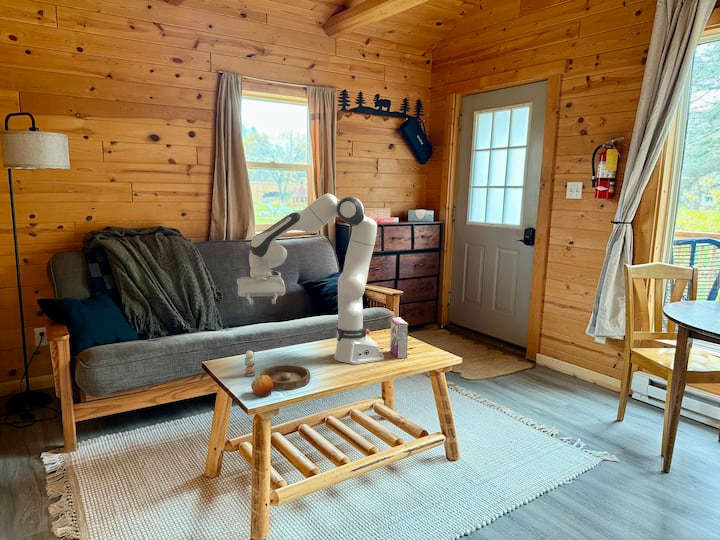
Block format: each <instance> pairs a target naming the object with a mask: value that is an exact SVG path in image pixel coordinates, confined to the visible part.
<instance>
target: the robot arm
mask: <svg viewBox="0 0 720 540" xmlns="http://www.w3.org/2000/svg"><path fill="white" fill-rule="evenodd" d="M365 212H366V211H365V206H364V204H363V202H362V201H361V200H360V199H359V198H357V197H353V196H347V197H344V198H342V199H339V198H337V197H336V196H335V195H334V194H332V193H325V194H322V195H321V196H319V197H318V198H317V199H315V200H314V201H313V202H311V203H310V204H309V205H308V206H307V207H305V208H304V209H301V210H300V211H297V212H291V213H290V214H287V215H286V216H285V217H283V218H281V219H280V220H279V221H277V222H275V223H274V224H273V225H271V226H270V227H268V228H266V229H265V230H264V231H262V232H260V233H257V234H255V236H253V237H252V239H251V241H250V245H249V246H250V247H249V249H250V250H249V253H248V255H249V256H248V257H249V259H248V261H249V266H250V270H249V276H240V277H238V278H237V279H236V284H237V295H238V296H239V297H246V299H247V300H248V302H249V305H254V298H252V297H273V298H271V304H272V305H276V303H277V301H276V300H277V299H278V297H282V296H284V295H285V294H286V285H285V282H284V279H283V278H282V273H281V272H280V271H276V270H274V269H275V268H277V267H280V266H282V265H283V264H284V263H285V262H286V261H287V258H288V250H287V248H285V247H284V246H283V245H282V244H280V243H279V242H277V241H276V240H277V239H280V238H281V237H282V236H284V235H285V234H286V233H288V232H290V231H301V232H304V233H317V232H318V231H320V230H322V229H323V228H324V227H325V226H326V225H327V224H328V223H330V221H331V220H333V219H335V218H337V217H338V218H339V219H341V221H343V222H344V223H346V224H347V225H349V226H351V235H350V238H349V242H348V246H347V248H346V249H347V250H346V253H345V258H344V264H343V269H342V273H341V274H340V275H339V276H338V279H337V309H338V310H337V312H338V313H337V327H336V349H335V352H334V355H333V359H335V360H336V361H337V362H341V363H345V364H350V365H361V364H366V363H367V364H368V363H373V362H378V361H379V362H380V361H384V360H385V355H384V354H383V352H381V351H380V349H379V345H378V343H377V341H375V340H374V339H373V338H371V337H370V336H369V335H370V333H371V330H370V329H368V328H366V327H364V325H363V324H364V322H363V321H364V320H363V319H364V305H363V296H364V294H365V291H366V287H367V282H368V277H369V270H370V263H371V260H372V256H373V252H374V248H375V244H376V240H377V235H378V223H377V221H376V220H374V219H373V218H370V217H368V216H366V215H365ZM272 269H273V270H272Z"/></svg>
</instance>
